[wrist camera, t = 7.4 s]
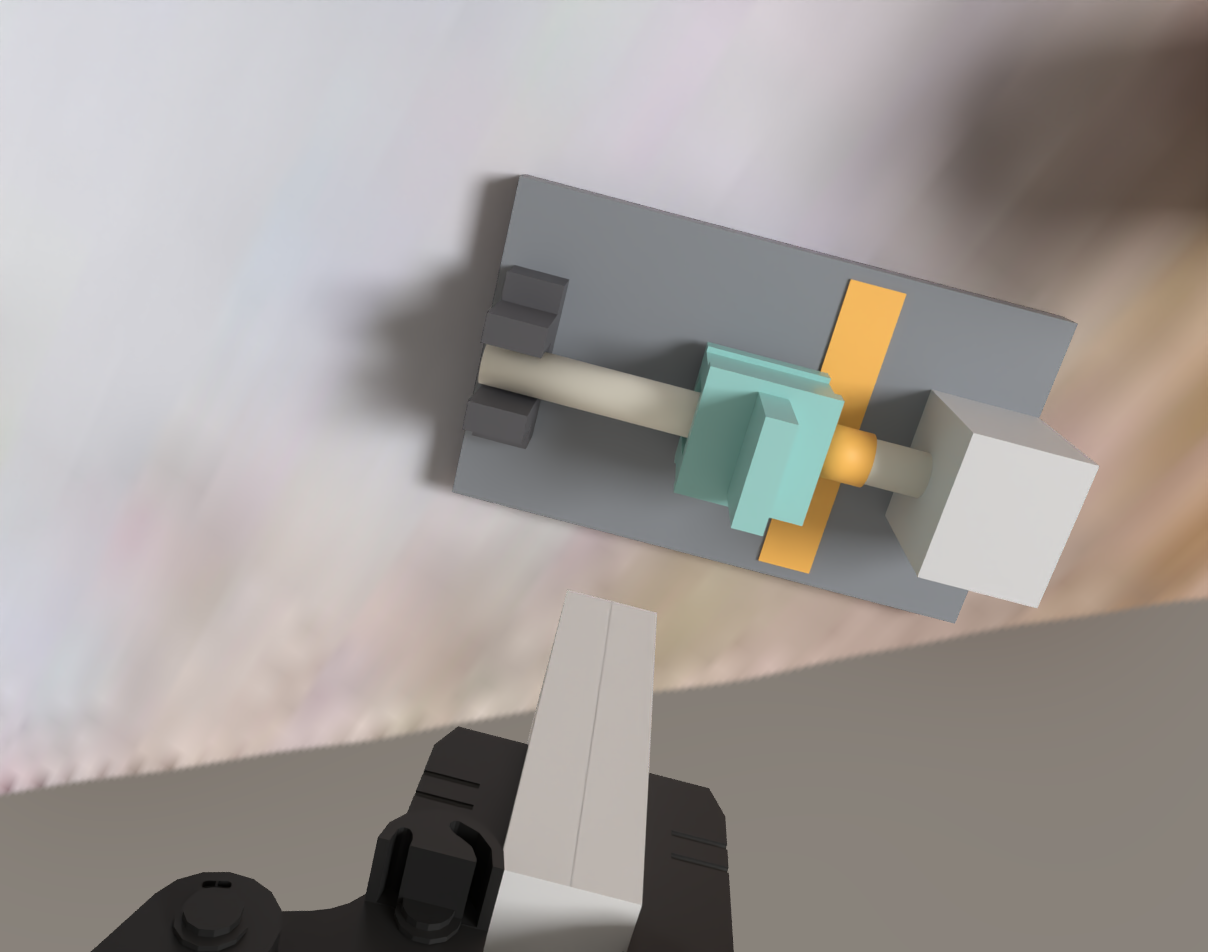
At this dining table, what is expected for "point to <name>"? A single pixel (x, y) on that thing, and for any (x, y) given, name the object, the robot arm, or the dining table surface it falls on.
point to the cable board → (790, 334)
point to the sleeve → (756, 437)
